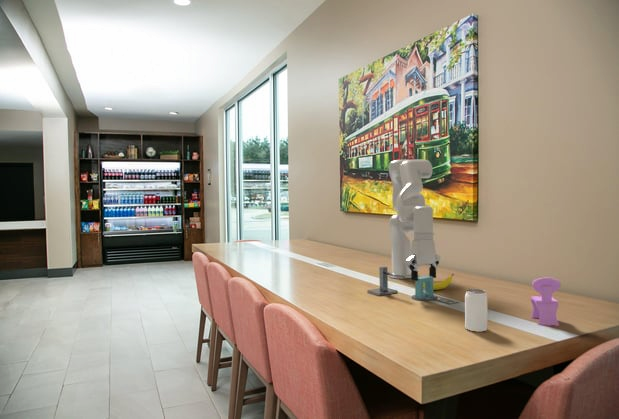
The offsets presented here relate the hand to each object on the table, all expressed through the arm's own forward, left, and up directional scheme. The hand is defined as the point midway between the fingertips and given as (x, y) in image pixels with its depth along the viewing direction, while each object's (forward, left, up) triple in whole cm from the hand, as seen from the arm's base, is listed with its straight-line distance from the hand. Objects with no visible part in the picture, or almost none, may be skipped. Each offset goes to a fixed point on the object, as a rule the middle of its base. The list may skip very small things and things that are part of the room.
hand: (423, 278), depth 179 cm
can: (+15, +39, -8) cm, 43 cm away
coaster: (0, 0, -8) cm, 8 cm away
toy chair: (-10, +45, -8) cm, 47 cm away
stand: (+8, -12, -8) cm, 16 cm away
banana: (-14, -8, -8) cm, 18 cm away
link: (0, 0, -7) cm, 7 cm away
